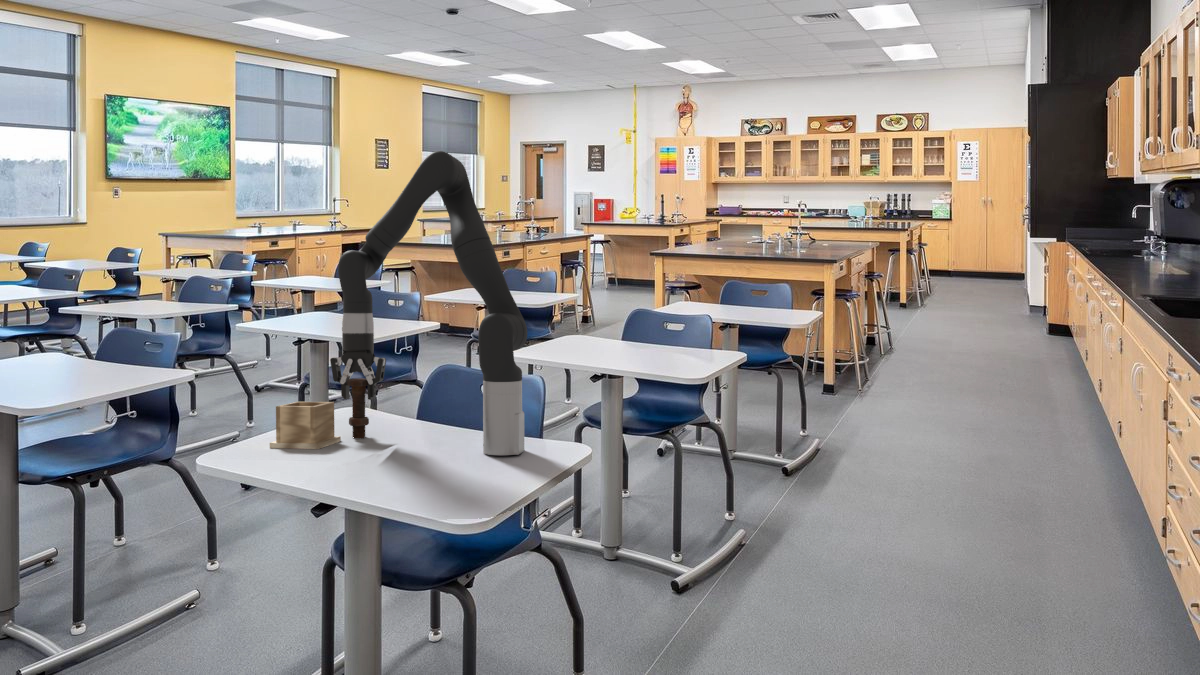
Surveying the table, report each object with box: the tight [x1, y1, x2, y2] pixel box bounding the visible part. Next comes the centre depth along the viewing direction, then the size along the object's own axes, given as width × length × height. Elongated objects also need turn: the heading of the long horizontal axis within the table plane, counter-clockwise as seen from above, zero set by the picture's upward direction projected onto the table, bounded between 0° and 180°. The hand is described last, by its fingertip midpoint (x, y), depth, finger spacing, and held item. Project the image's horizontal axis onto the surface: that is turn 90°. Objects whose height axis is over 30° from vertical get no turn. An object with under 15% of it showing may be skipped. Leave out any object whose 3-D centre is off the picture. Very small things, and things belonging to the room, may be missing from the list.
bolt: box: [347, 378, 370, 439], centre depth 216 cm, size 6×5×15 cm
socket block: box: [269, 401, 342, 450], centre depth 207 cm, size 12×12×10 cm
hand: (358, 398), depth 216 cm, fingers closed on bolt, 5 cm apart
